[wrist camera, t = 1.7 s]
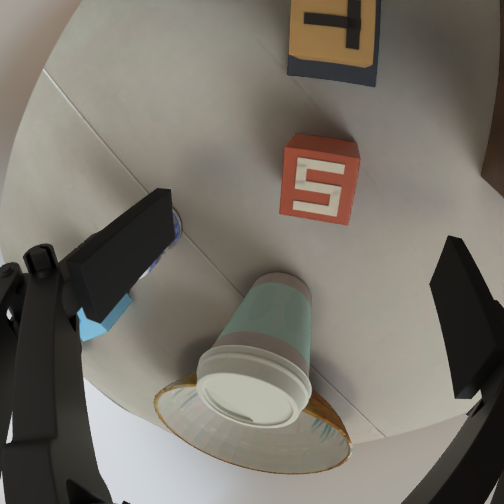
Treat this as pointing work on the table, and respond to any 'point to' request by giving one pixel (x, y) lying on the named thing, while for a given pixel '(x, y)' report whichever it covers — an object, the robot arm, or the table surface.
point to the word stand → (497, 129)
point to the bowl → (256, 433)
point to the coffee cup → (262, 356)
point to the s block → (319, 178)
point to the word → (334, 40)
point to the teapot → (95, 329)
